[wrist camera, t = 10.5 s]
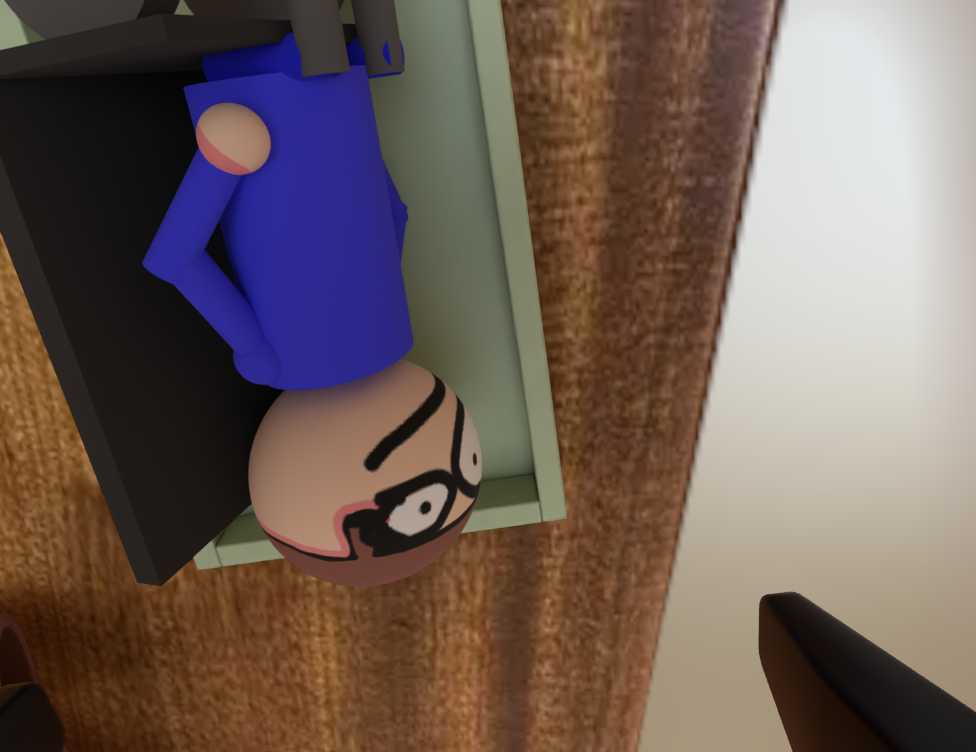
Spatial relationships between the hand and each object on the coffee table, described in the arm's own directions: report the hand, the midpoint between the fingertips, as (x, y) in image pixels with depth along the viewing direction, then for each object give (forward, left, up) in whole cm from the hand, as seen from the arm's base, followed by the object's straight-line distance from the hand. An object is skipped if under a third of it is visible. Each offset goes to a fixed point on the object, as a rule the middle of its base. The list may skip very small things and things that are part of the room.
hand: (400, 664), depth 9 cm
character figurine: (+2, -4, -11) cm, 12 cm away
